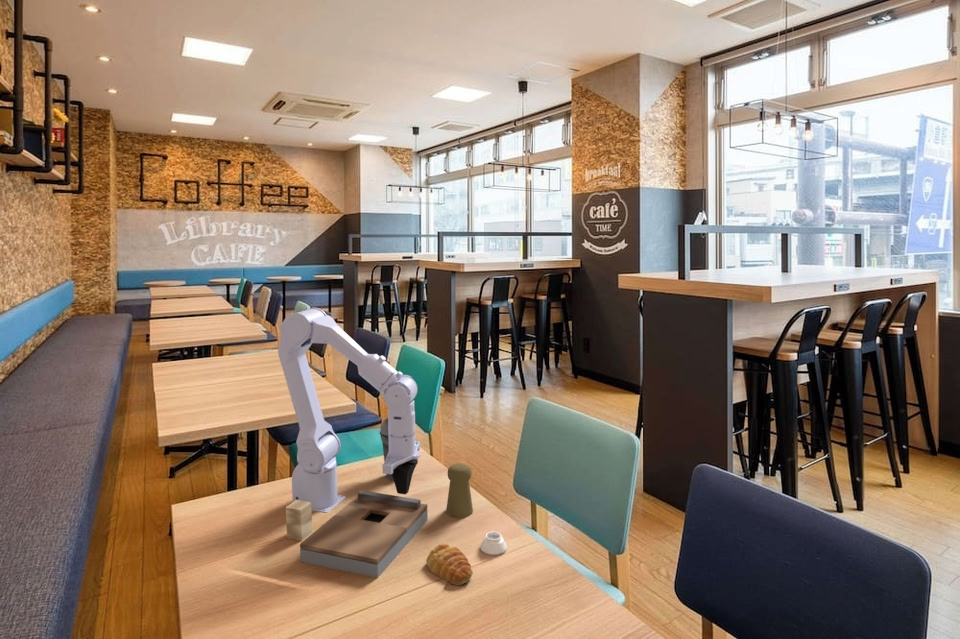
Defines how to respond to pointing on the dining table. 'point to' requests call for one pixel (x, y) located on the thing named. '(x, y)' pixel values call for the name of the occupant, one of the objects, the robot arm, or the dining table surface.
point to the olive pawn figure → (459, 491)
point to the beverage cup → (385, 442)
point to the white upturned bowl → (493, 543)
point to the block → (299, 520)
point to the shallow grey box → (360, 565)
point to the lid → (366, 527)
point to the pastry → (449, 564)
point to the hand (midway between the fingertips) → (402, 492)
